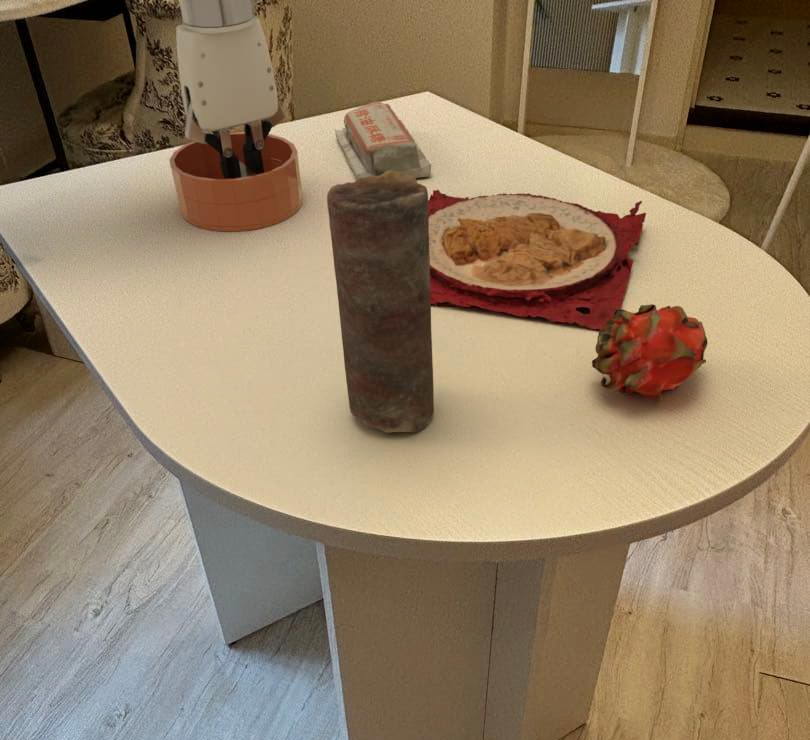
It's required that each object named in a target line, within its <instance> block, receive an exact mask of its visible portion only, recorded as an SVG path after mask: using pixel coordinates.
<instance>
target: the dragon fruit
mask: <svg viewBox="0 0 810 740" xmlns="http://www.w3.org/2000/svg"><path fill="white" fill-rule="evenodd" d="M596 340H597V341H596V343H595V349H594V350H595V353H596V354H597V356H596V357H595V358H594V359H592V361H591V367H592V368H593V369H595V370H596V371H597V372H599V373H600V374H601V375H608V376H609V381H608V383H607V380H608V377H606V376H602V378H601V380H600V385H601V387H603V388H604V389H605V390H607V391H614V390H617V391H619V393H620V394H623V395H631V394H632V393H633V392H637V393H638V394H641V395H642V396H643V397H644V398H645V399H647V400H648V399H649V400H655V401H653V403H654V404H657V403H661V402H662V401H664V396H665V393H664V392H663V391H667V390H673V391H675V390H677V389H678V388H679V386H680V385H682V384H684V383H685V382H687V380H689V379H691V377H692V376H693V375H694V374H695V373H696V371H697V370H698V369H699V368H701V366H702V365H704V364H706V363H707V359H705V358H704V357H705V356H704V355H705V351H706V349H707V347H708V337H707V335H706V330H705V328H704V325H703V322H702V321H699V320H698V319H697V318H696V317H691V316H688V315H687V314H686V311H685V310H684V308H683V307H681V306H680V305H673V306H672V307H671V305H666V306H664V307H660V308H659V309H657V305H656V304H653V303H651V304H641V305H640V306H639V307H638V311H637V312H631V311H628V310H625V309H622V308H621V309H616V310H615V311H614V314H613V319H612V320H610V319H609V320H608V321H607V322H606V324H605V328H603V329H602V330H600V329H599V331H598V334H597V339H596Z"/></svg>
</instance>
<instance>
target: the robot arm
mask: <svg viewBox="0 0 810 740" xmlns="http://www.w3.org/2000/svg"><path fill="white" fill-rule="evenodd" d="M178 2H179V6H180V13H181V19H182V24H178V25H177V26H176V28H175V29H176V30H175V31H176V33H175V34H176V35H175V36H176V37H175V41H176V56H177V66H178V67H177V69H178V77H179V86H180V93H181V99H182V104H183V109H184V112H185V113H184V114H185V116H186V123H185V129H184V136H185V137H186V138H187V140H189V141H190V142H197V143H202V144H208V145H210V146H211V147H213V148H214V149H215V150H217V151H218V152H219V154H220V159H221V165H222V170H223V176H224V179H234V178H241V177H242V176H241V170H240V164H239V159H238V157H237V156H236V155H235V154H234V151H233V149H232V143H231V137H230V133H231V132H230V129H231V128H236V127H239V126H242V128H243V132H244V134H245V140H246V141H245V144H243V147H242V148H243V155H244V161H245V166H247V167H248V168H249V169H251V170H252V171H253V172H255V173H256V174H261V173H264V168H263V161H262V154H261V149H263V147H264V141H265V139H266V137H267V136H268V134H270V133H271V130H272V128H275V127H276V126H277V125H278V124H279V123H281V122H282V121H283V120H284V119H285V117H286V115H285V111H284V110H283V108H282V107H281V104H280V102H279V100H278V92H277V85H276V80H275V79H276V78H275V74H274V69H273V64H272V59H271V55H270V50H269V48H268V47H269V46H268V43H267V40H266V36H265V33H264V29H263V27H262V24H261V21H260V18H258V17H257V16H255V14H256V11H255V6H257V4H262V3H263V2H264V0H178Z"/></svg>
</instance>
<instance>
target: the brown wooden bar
mask: <svg viewBox="0 0 810 740" xmlns="http://www.w3.org/2000/svg"><path fill="white" fill-rule="evenodd" d="M219 162H220V167H221V173H222V174H223V170H222V165H221V160H219ZM239 164H240V170H241V176H242V177H249V176H254V175H258V174H256V173H255V172H253V171H252V170H251V169H249V168H248V167H247V166H245V165H244V164H243V163H242V162H240V161H239ZM242 177H241V178H242Z"/></svg>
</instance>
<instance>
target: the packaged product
mask: <svg viewBox="0 0 810 740" xmlns="http://www.w3.org/2000/svg"><path fill="white" fill-rule="evenodd" d="M343 124H344V127H342V129H341V130H339V129H334V133H335V137H336V140H337V141H338V143H339V145H340V147H341V149H342V150H343V153H344V155H345V158H346V161H347V163H348V167H349V168H351V169H352V172H353V173H354V175H355V177H356V180H358V179H361V178H367V177H372V176H380V175H382V174H383V173H385V172H386V171H390V170H393V171H397V172H403V173H407V174H409V175H411V176H415V177H416V179H418V178H427V177H428V178H429V177H431V172H432V171H431V169H432V164H430V161H429V160H428V159H427V157H426V156H425V154H424V153H423V152H422V151H423V150H422V149H421V148H420V146H419V145H418V143H416V140H415V139H414V138H413V136H412V135H411V133H410V131H409V130H408V128H407V127H406V125H405V124H404V123H403V121H402V120H401V119H399V117H398V115H397V114H396V113H395V112H394V110H393V109H392V107H391V106H390V103H384V102H381V101H372V102H370V103H368V104H364V105H363V106H360V107H357V108H355V109H352V110H350V111H349V112H347V113H345V115H344V117H343Z"/></svg>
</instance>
